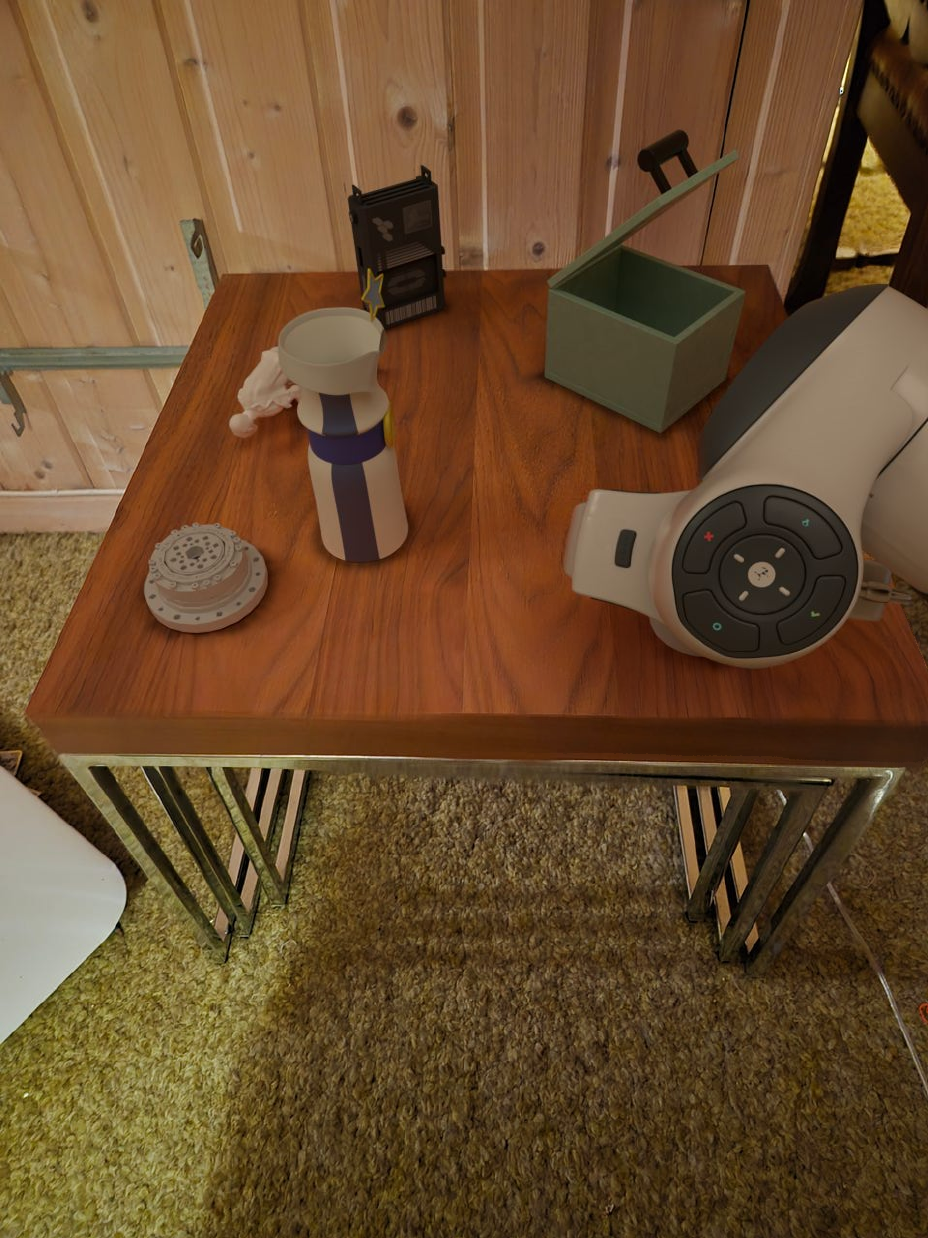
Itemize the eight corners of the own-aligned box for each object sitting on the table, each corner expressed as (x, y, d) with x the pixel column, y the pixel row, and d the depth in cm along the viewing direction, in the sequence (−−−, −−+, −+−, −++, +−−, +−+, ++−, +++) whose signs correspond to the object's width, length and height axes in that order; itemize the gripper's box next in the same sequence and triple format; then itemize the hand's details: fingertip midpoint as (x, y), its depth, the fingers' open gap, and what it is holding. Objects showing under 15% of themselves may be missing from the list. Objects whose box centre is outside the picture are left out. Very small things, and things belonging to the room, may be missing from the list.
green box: (725, 379, 86) (746, 290, 79) (660, 433, 81) (676, 344, 74) (610, 329, 93) (620, 243, 86) (544, 376, 88) (548, 289, 80)
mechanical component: (284, 607, 69) (249, 532, 75) (273, 571, 65) (237, 495, 71) (164, 652, 66) (138, 571, 72) (146, 617, 63) (120, 534, 69)
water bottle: (413, 494, 77) (384, 222, 58) (412, 562, 72) (378, 286, 52) (324, 498, 77) (265, 227, 58) (316, 565, 72) (247, 292, 52)
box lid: (740, 157, 72) (713, 104, 71) (662, 206, 67) (633, 149, 66) (622, 242, 85) (598, 199, 84) (550, 288, 80) (524, 242, 79)
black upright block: (434, 288, 100) (425, 155, 88) (453, 305, 98) (446, 170, 86) (356, 315, 97) (335, 180, 85) (373, 333, 94) (355, 197, 83)
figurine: (322, 396, 94) (204, 430, 80) (328, 323, 90) (204, 346, 76) (373, 415, 92) (260, 453, 78) (381, 341, 88) (263, 368, 74)
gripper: (935, 543, 45) (871, 544, 59) (564, 483, 50) (583, 497, 63) (908, 656, 46) (851, 632, 60) (545, 588, 50) (568, 580, 64)
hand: (711, 562), depth 61 cm, fingers closed on can, 7 cm apart
